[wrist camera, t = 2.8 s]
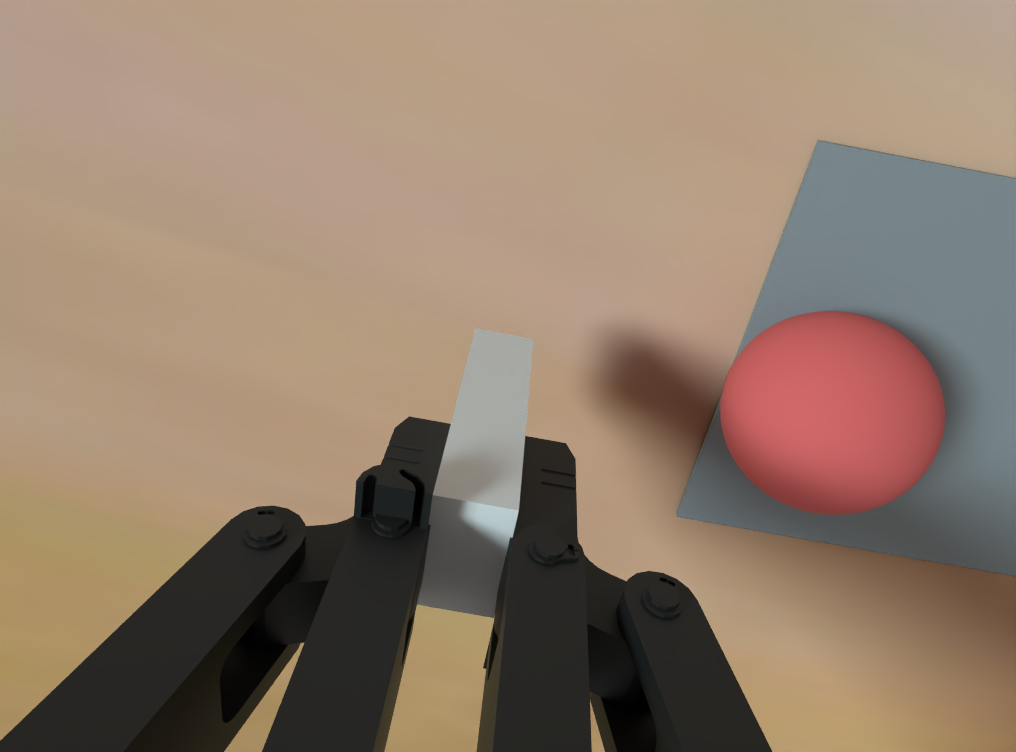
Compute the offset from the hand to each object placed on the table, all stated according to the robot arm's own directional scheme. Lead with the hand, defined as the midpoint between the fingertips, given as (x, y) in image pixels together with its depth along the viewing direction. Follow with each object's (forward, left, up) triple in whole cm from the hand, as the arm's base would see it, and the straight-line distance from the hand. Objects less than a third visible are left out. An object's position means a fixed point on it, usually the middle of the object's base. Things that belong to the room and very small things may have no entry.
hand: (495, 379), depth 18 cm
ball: (0, -10, -2) cm, 10 cm away
